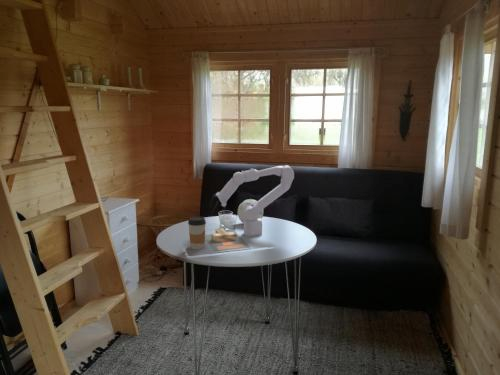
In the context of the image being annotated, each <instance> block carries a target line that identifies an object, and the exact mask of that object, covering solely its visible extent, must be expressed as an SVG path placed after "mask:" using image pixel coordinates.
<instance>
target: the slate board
mask: <svg viewBox="0 0 500 375" xmlns="http://www.w3.org/2000/svg"><path fill="white" fill-rule="evenodd" d="M212 234H213V233H210V234H205V242H206V243H207V244H208V245H209V247H210V248H211V250H212V251H214V252H216V254H219V253H220V254H221V253H222V252H223V251H225V253H229V252H231V251H232V250H234V252H238V251H240V250H241V249H243V251H247V250H249V249H250V248H251V246H250V245H249V244H248V243H247V242H246V240H244V239H243V238H242V237H241V236H239V235H238V234H237V240H229V241H219V242H213V241H212ZM236 249H237V250H236ZM219 251H220V252H219Z"/></svg>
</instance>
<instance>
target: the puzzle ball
mask: <svg viewBox="0 0 500 375" xmlns="http://www.w3.org/2000/svg"><path fill="white" fill-rule="evenodd" d="M257 201H258V200H256V199H252V198H249V199H245V200H243V201H242V202H241V203H240V204H239V206H238V208H237V217H238V219H239V221H240V222H242V223H243V224H244V217H245V208H246V206H248V205H252V204H253V203H255V202H257ZM263 217H264V209H262V211H261V212H260V213H259V214H258V215H257V219H261V220H262V219H263Z"/></svg>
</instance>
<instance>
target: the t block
mask: <svg viewBox="0 0 500 375" xmlns="http://www.w3.org/2000/svg"><path fill="white" fill-rule="evenodd" d="M214 230H215V233H211V234H212V241H213V242H219V241H229V240H237V235H238V233H237V232H235V231H228V232H227V231H226V230H225V229H224V228H215V229H214Z"/></svg>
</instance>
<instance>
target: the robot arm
mask: <svg viewBox="0 0 500 375" xmlns="http://www.w3.org/2000/svg"><path fill="white" fill-rule="evenodd" d="M272 175H275V176H278V177H280V184H278V185H276V187H274V188H273V189H272V190H271V191H269V192H267V194H265V195H264V196H263V197H261V198H259V200H256V201H257V202H255V203H253V204H252V205H248V206H246V208H245V217H244V223H243V235H244V236H246V237H248V236H249V237H253V236H262V235H263V222H262V219H257V215H258V214H259V213H260V212H261V211H262V209H263V210H264V209H266V207H269V205H270V204H272V203H274V201H276V200H277V199H278V198H279V197H281V196H283V194H284V193H286V192H287V191H289V189H290V188H291V186H292V183H293V180H294V179H295V171H294V169H293V168H292V167H291V166H290V165H289V164H288V165H287V164H285V165H277V166H273V167H268V168H264V169H260V170H258V169H256V168H250V169H248V170H241V172H240V171H236V172H235V173H233V176H232V177H231V178H230V180H228V181H227V182H226V184H224V186H223V188H222V189H221V190H220V191H217V192H216V193H215V194H212V199H211V201H210V203H209V205H208V208H209V209H211V212H210V214H211V215H213V216H216V215H217V214H219V213H221V211H224V210H226V206H227V202H228V200H229V199H230V198H231V196H232V195H233V194H234V193H235V192H236V190H237V189H238V187H239V186H240V185H242V184H243V183H248V182H253V181H254V182H255V181H257V180H258V179H259V178H261V177H265V176H272Z"/></svg>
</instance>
